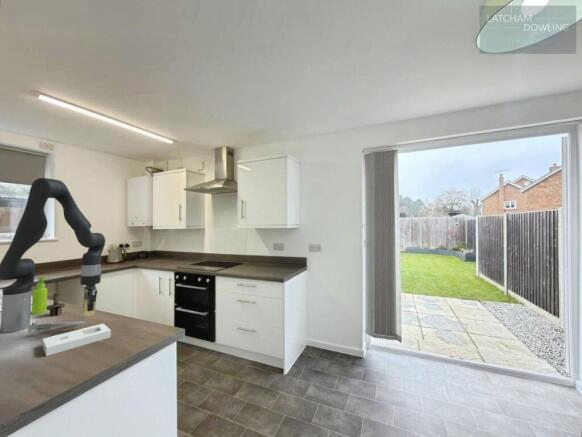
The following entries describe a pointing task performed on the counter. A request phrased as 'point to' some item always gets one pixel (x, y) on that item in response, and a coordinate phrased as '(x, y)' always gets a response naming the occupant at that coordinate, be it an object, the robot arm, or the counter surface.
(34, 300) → the soap dispenser
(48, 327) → the caliper
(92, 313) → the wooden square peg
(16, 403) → the counter surface
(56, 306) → the industrial component
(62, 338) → the white peg hole board
